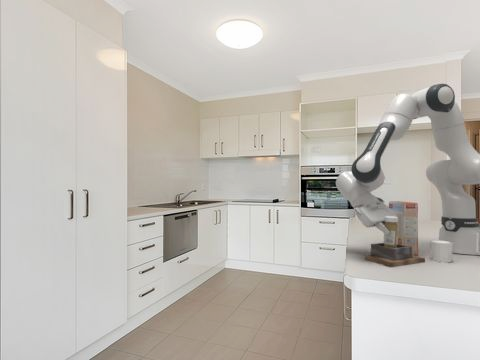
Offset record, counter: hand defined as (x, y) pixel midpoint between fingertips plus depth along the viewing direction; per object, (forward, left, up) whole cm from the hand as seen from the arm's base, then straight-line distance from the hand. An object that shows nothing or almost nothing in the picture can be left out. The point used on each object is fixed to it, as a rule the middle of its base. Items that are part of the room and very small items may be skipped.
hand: (392, 232), depth 101 cm
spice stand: (-1, 0, -10) cm, 10 cm away
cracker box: (-17, -9, -10) cm, 22 cm away
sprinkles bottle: (0, -1, -8) cm, 8 cm away
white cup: (-17, +6, -10) cm, 21 cm away
